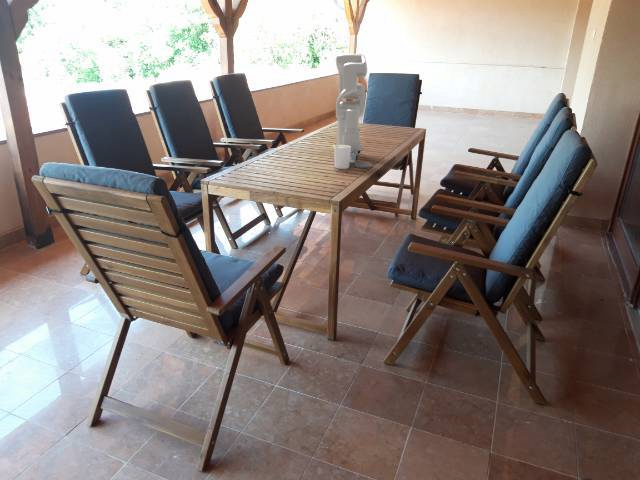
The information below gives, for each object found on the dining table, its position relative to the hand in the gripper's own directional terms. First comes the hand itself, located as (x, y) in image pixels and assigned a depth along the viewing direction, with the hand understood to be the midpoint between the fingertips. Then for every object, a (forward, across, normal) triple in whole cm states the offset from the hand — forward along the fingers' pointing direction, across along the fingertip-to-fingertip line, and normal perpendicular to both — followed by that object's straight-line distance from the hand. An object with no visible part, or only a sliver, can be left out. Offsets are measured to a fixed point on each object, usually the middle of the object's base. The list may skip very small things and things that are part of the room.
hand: (350, 161), depth 287 cm
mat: (+1, -5, +9) cm, 10 cm away
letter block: (+1, 0, 0) cm, 1 cm away
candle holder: (+1, +8, +11) cm, 14 cm away
